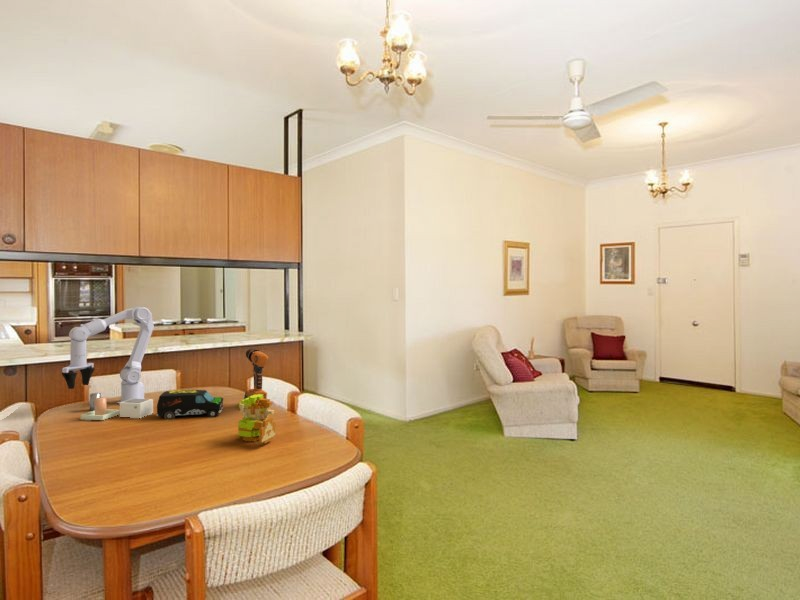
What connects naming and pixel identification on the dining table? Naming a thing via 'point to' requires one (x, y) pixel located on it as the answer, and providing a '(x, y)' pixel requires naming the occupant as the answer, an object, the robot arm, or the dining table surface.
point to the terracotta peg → (100, 406)
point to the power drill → (257, 371)
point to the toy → (256, 419)
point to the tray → (92, 415)
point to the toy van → (188, 403)
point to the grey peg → (93, 400)
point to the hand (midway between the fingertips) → (78, 386)
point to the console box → (136, 408)
